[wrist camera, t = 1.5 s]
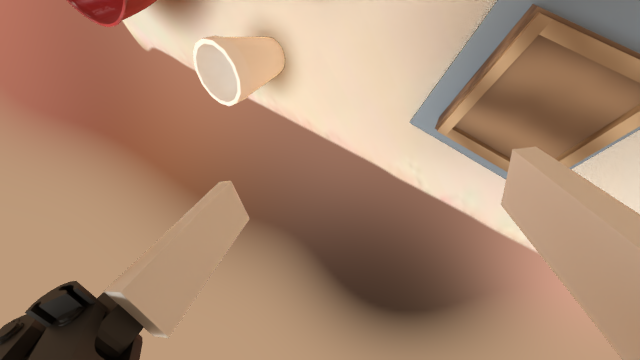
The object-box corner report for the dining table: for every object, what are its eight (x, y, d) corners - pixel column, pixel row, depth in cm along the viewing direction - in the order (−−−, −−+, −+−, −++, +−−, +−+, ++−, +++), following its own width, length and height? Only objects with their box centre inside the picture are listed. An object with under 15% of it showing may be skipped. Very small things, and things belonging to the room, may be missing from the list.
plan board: (532, -49, 22) (533, -50, 21) (761, 50, 19) (771, 53, 18) (410, 120, 36) (409, 122, 36) (528, 189, 34) (529, 193, 33)
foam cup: (288, 90, 45) (241, 115, 37) (252, 71, 47) (199, 91, 38) (294, 37, 38) (238, 53, 30) (251, 18, 40) (187, 27, 32)
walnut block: (532, 3, 23) (539, 7, 19) (677, 71, 21) (712, 87, 18) (439, 116, 33) (433, 131, 30) (529, 169, 31) (534, 190, 28)
